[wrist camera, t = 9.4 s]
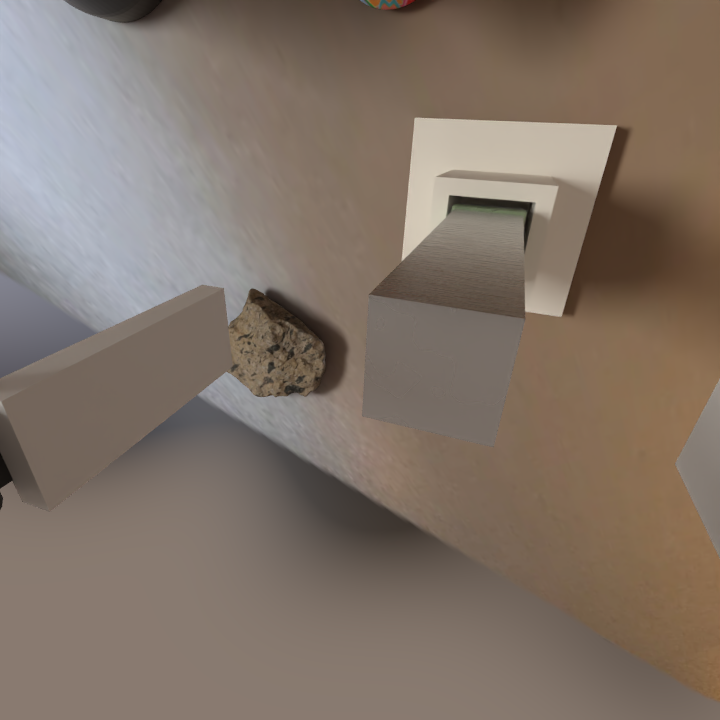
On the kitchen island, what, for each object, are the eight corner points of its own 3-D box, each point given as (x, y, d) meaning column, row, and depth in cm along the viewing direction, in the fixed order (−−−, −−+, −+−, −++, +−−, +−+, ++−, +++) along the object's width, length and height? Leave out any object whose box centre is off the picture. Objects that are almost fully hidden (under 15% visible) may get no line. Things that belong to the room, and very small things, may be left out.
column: (458, 199, 28) (364, 288, 11) (526, 206, 27) (533, 313, 10) (449, 263, 30) (357, 418, 13) (511, 271, 29) (498, 452, 12)
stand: (417, 118, 33) (386, 111, 26) (614, 125, 30) (645, 120, 22) (401, 289, 40) (373, 323, 32) (560, 312, 36) (570, 358, 29)
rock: (300, 406, 51) (282, 428, 47) (224, 345, 51) (200, 362, 47) (348, 346, 45) (332, 365, 41) (261, 276, 44) (237, 289, 41)
